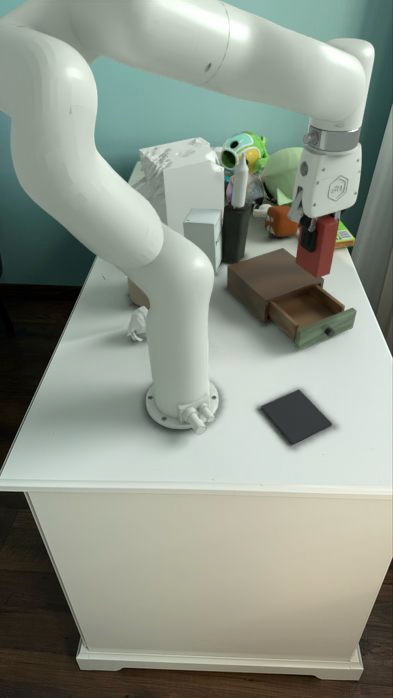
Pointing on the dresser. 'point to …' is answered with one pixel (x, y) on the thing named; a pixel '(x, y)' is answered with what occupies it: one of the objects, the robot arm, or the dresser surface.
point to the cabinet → (267, 280)
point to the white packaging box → (205, 232)
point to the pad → (296, 416)
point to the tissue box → (181, 180)
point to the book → (319, 248)
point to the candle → (236, 217)
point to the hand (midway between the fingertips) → (315, 245)
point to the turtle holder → (247, 145)
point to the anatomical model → (249, 191)
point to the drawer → (310, 316)
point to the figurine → (138, 323)
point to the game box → (342, 236)
